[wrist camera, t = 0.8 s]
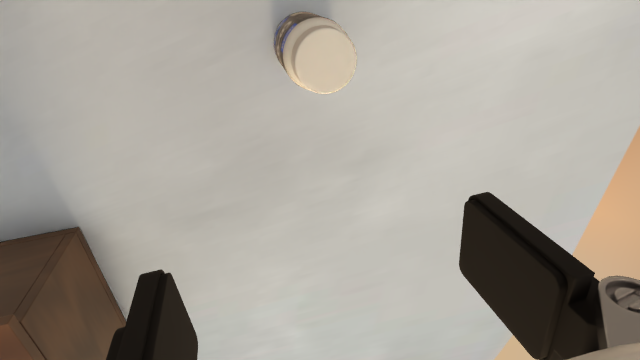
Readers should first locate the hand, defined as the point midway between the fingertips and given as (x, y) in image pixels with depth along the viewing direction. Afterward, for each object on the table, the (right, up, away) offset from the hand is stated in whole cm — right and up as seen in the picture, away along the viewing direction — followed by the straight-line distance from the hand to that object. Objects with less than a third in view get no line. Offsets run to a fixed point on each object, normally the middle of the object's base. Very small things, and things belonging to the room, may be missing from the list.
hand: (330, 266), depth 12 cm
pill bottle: (-2, +14, +19) cm, 23 cm away
